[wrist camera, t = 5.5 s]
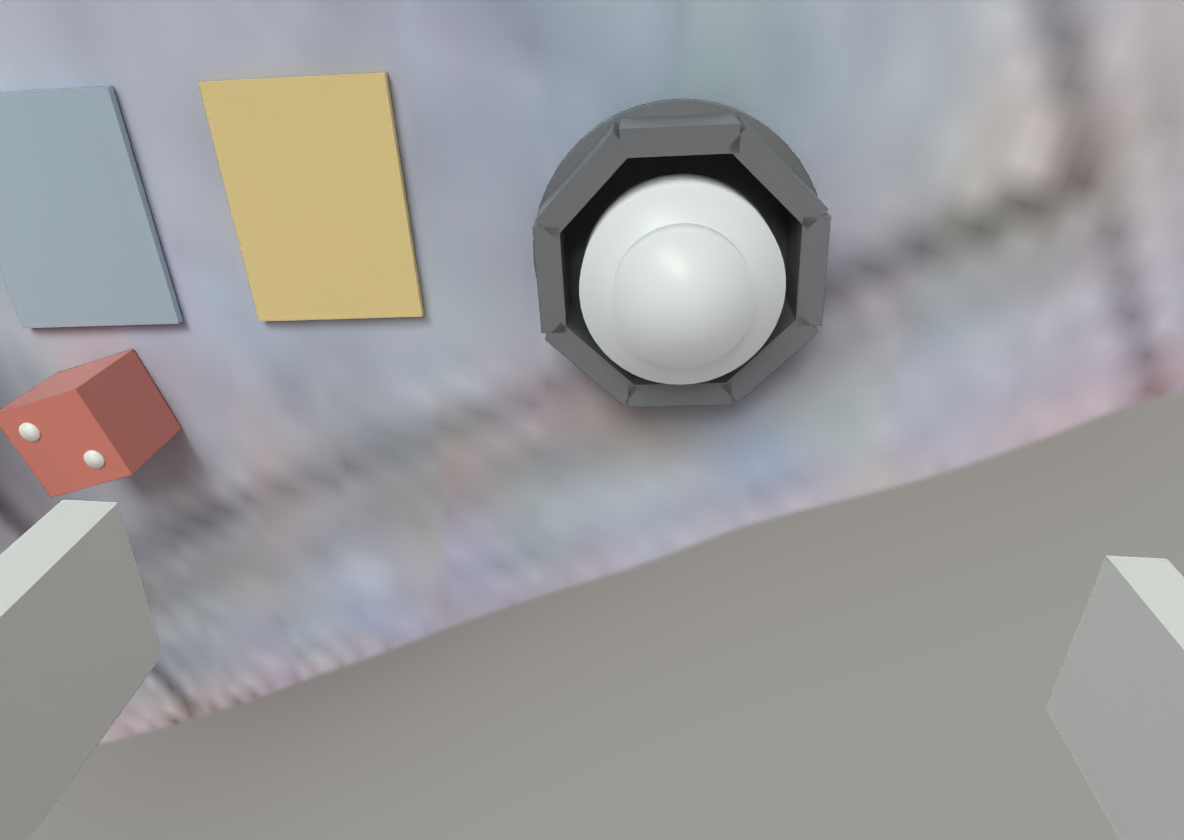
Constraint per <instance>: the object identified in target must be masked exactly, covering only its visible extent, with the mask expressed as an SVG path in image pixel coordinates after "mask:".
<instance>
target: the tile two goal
mask: <svg viewBox="0 0 1184 840" xmlns="http://www.w3.org/2000/svg"><path fill="white" fill-rule="evenodd" d="M198 84H199V88H200V92H201V96H202V100H203V104H204V108H205V111H206V115H207V119H208V123H209V127H210V131H211V135H212V139H213V143H214V147H215V151H216V155H217V159H218V163H219V167H220V170H221V174H222V178H223V182H224V186H225V190H226V194H227V198H228V202H229V206H230V210H231V214H232V218H233V222H234V226H235V229H236V233H237V237H238V241H239V245H240V249H241V253H242V257H243V261H244V265H245V269H246V273H247V277H248V281H249V285H250V288H251V292H252V296H253V300H254V304H255V308H256V312H257V316H258V320H259V321H289V320H324V319H358V318H392V317H422V316H423V315H424V309H423V303H422V296H421V290H420V283H419V277H418V270H417V264H416V257H415V251H414V244H413V238H412V231H411V225H410V218H409V212H408V205H407V199H406V192H405V186H404V179H403V173H402V166H401V160H400V153H399V147H398V140H397V134H396V127H395V121H394V114H393V108H392V101H391V95H390V88H389V82H388V75H387V72H376V73H357V74H337V75H318V76H299V77H279V78H260V79H241V80H221V81H202V82H198Z"/></svg>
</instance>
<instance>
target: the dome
mask: <svg viewBox="0 0 1184 840" xmlns="http://www.w3.org/2000/svg"><path fill="white" fill-rule="evenodd" d="M785 291H786V273H785V267H784V261H783V258H782V254H781V251H780V248H779V246H778V244H777V242H776V240H775V237H774V236H773V234H772V232H771V230H770V228H769V226H768V225H767V223H766V221H765V219H764V218H763V216H762V215H761V213H760V211H759V210H758V209H757V207H756V206H755V205H754V204H753V203H752V202H751V201H750V200H749V199H748V198H747V197H746V196H745V195H744V194H743V193H741V192H740V191H739V190H737V189H736V188H734V187H732V186H731V185H729V184H727V183H725V182H723V181H721V180H719V179H716V178H712V177H709V176H706V175H701V174H694V173H672V174H664V175H660V176H656V177H652V178H650V179H647V180H645V181H642V182H640V183H638V184H636V185H634V186H632V187H631V188H629V189H627V190H626V191H625V192H623V193H622V194H621V195H619V196H618V197H617V198H616V199H615V200H614V201H613V202H612V203H611V204H610V205H608V207H607V208H606V209H605V210H604V212H603V213H602V214H601V215H600V217H599V219H598V220H597V222H596V224H595V225H594V227H593V230H592V232H591V234H590V237H589V239H588V243H587V246H586V250H585V254H584V259H583V263H582V267H581V273H580V280H579V297H580V305H581V310H582V314H583V317H584V320H585V323H586V325H587V327H588V330H589V332H590V334H591V335H592V337H593V339H594V340H595V342H596V343H597V345H598V346H599V347H600V348H601V350H602V351H603V352H604V353H605V354H606V355H607V356H608V357H609V358H610V359H611V360H612V361H614V362H615V363H616V364H617V365H619V366H620V367H621V368H623V369H625V370H627V371H628V372H630V373H632V374H634V375H636V376H639V377H641V378H643V379H647V380H650V381H654V382H658V383H664V384H676V385H684V384H695V383H700V382H705V381H709V380H712V379H715V378H718V377H721V376H723V375H725V374H727V373H729V372H731V371H733V370H735V369H736V368H738V367H739V366H741V365H743V364H744V363H745V362H746V361H748V360H749V359H750V358H751V357H752V356H753V355H754V354H755V353H756V352H757V351H758V350H759V349H760V348H761V347H762V346H763V345H764V343H765V342H766V341H767V339H768V338H769V337H770V335H771V333H772V331H773V330H774V328H775V326H776V324H777V322H778V319H779V317H780V315H781V311H782V308H783V304H784V299H785Z"/></svg>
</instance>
